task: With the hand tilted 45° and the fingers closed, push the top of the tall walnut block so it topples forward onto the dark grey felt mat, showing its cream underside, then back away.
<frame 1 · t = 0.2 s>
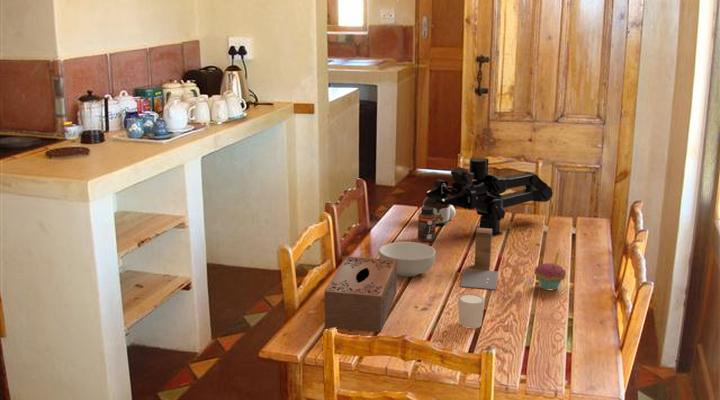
hand: (435, 198, 242), 17 cm above the table, tool horizontal, fingers open, 9 cm apart
walnut block: (482, 267, 228), on the table
felt mat: (479, 279, 219), on the table
white cup: (470, 324, 190), on the table
spread jar: (438, 222, 273), on the table
tissue box cover: (362, 310, 199), on the table
supplement bottle: (426, 240, 253), on the table
cereal bowl: (406, 272, 225), on the table
cupcake: (548, 288, 213), on the table
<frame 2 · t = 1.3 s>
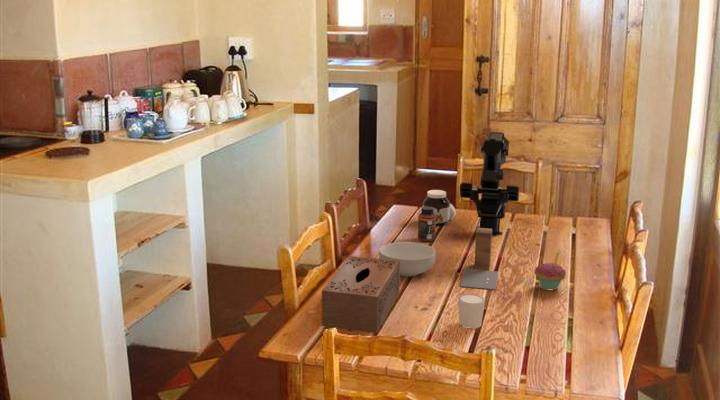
hand: (487, 214, 235), 14 cm above the table, tool tilted 45°, fingers open, 5 cm apart
nothing on the table moved.
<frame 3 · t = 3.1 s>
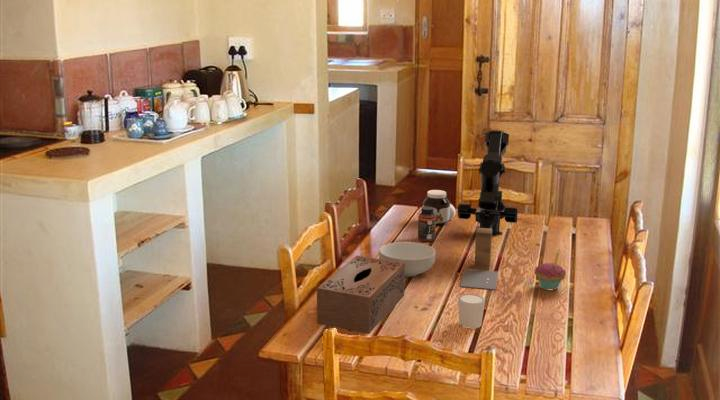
hand: (485, 236, 233), 8 cm above the table, tool tilted 45°, fingers closed
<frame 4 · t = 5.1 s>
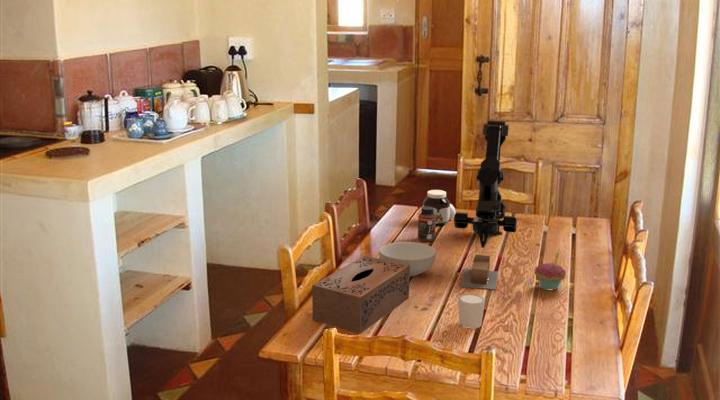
hand: (482, 247, 223), 8 cm above the table, tool tilted 45°, fingers closed
walnut block: (482, 262, 226), point 3 cm above the table, tilted 90°, touching felt mat
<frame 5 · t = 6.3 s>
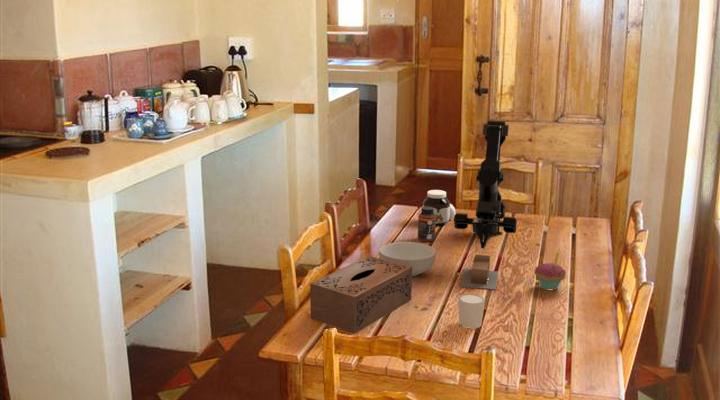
hand: (482, 247, 223), 8 cm above the table, tool tilted 45°, fingers closed
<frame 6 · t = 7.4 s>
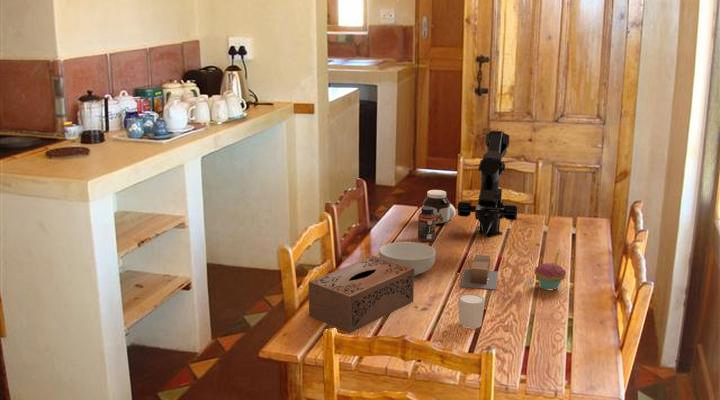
hand: (484, 234, 233), 8 cm above the table, tool tilted 45°, fingers closed
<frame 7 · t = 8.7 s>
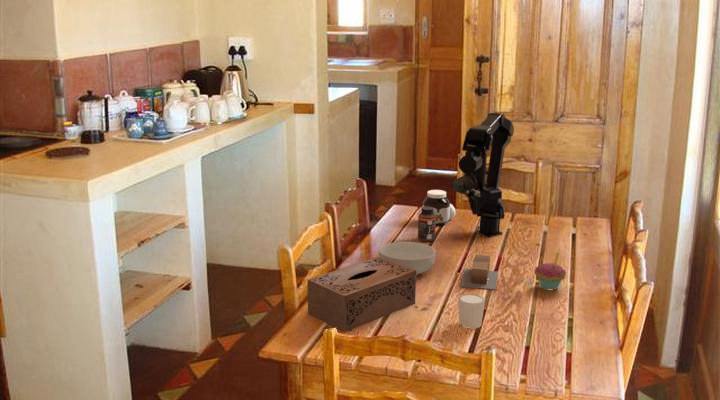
hand: (474, 214, 240), 12 cm above the table, tool pointing down, fingers closed
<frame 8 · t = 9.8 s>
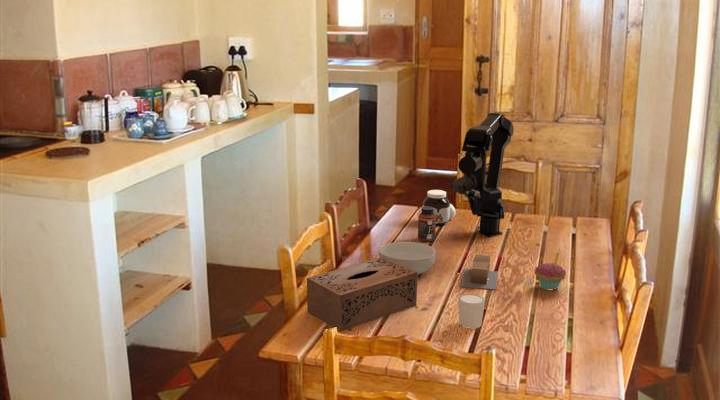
hand: (474, 214, 240), 12 cm above the table, tool pointing down, fingers closed
at the end: walnut block tilted 90°; walnut block inside the target area (4.9 cm from its centre), point 2.5 cm above the table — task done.
